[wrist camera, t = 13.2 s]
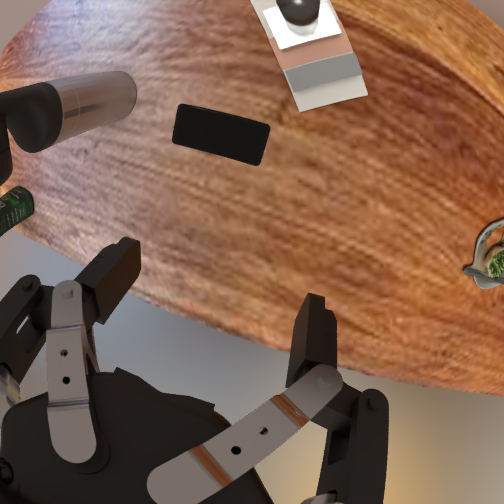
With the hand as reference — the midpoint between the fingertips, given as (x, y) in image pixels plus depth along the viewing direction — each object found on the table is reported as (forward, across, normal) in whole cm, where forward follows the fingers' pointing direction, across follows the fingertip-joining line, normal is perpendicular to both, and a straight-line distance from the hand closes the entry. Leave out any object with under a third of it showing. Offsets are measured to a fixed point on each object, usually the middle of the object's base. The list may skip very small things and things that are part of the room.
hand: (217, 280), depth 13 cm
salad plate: (+34, -49, +4) cm, 60 cm away
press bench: (+33, +2, -18) cm, 38 cm away
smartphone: (+34, +10, +2) cm, 35 cm away
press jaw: (+31, +1, -17) cm, 35 cm away
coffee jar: (+33, +63, +26) cm, 76 cm away
